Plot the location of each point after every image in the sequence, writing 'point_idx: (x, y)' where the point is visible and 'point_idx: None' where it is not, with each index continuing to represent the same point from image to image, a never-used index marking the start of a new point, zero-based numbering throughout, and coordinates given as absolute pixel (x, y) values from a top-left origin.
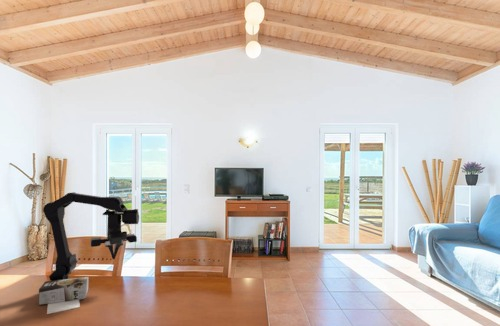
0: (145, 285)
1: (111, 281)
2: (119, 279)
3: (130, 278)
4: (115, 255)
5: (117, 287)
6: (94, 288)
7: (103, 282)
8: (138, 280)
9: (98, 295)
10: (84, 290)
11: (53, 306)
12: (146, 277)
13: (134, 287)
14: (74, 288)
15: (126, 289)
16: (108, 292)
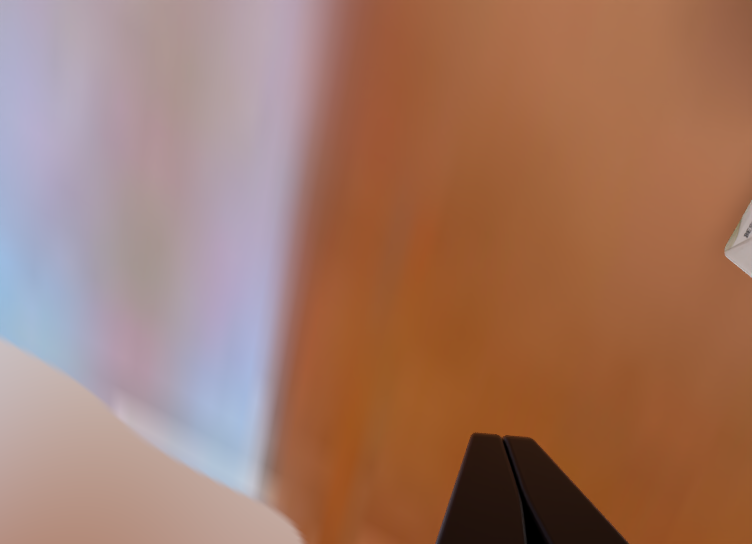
0: (30, 32)
1: (398, 411)
2: (309, 420)
3: (193, 386)
4: (468, 509)
5: (382, 186)
6: (616, 311)
7: (479, 428)
8: (110, 274)
9: (665, 37)
10: None
11: None
12: (10, 316)
13: (183, 47)
14: None
15: (294, 36)
16: (525, 71)
